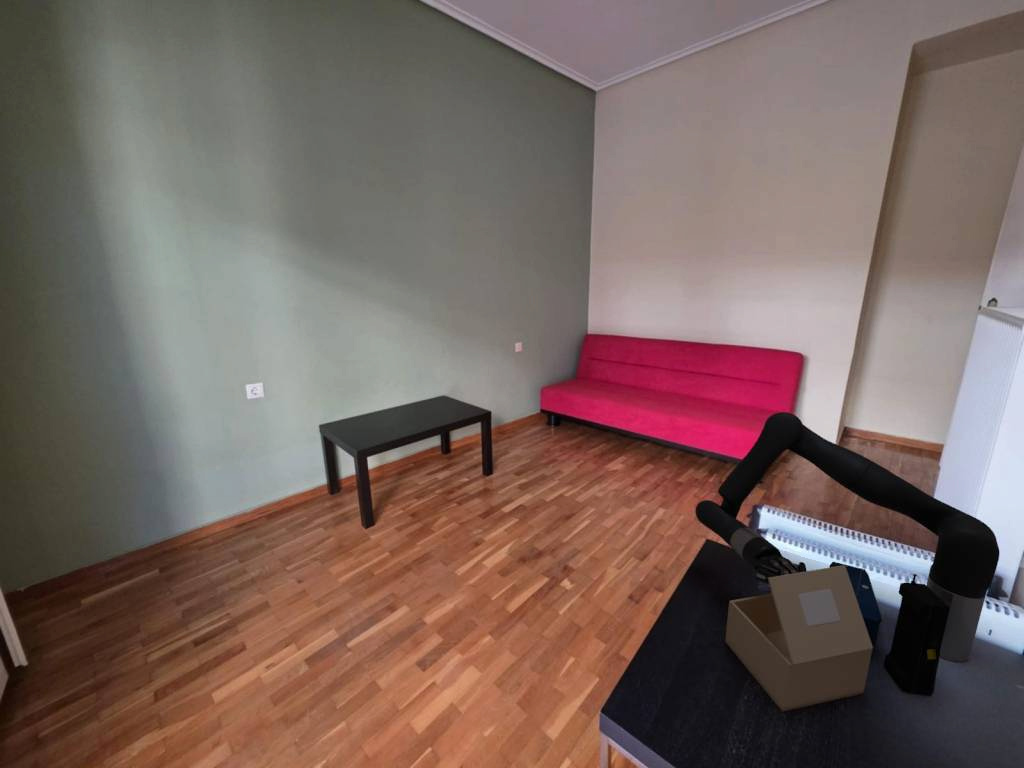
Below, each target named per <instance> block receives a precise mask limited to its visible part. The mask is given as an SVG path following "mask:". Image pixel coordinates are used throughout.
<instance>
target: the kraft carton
mask: <svg viewBox="0 0 1024 768" xmlns="http://www.w3.org/2000/svg"><path fill="white" fill-rule="evenodd" d="M727 609H728V610H727V619H726V621H727V622H726V630H725V631H726V632H725V640H724V642H725V643H726V645H728V647H729V648H730V649H731V651H732V652H733V653H734V655H736V657H737V658H738V659H739V661H740V662H741V664H742V665H744V667H745V668H746V669H747V670H748V671H749V673H750V674H751V675H752V677H753V678H754V679H755V680H756V681H757V683H759V684H760V687H762V688H763V690H764V691H765V692H766V693H767V695H768V696H769V697H770V698H771V700H772V701H773V702H774V703H775V704H776V706H777V707H778V708H779V709H780V711H781V712H782V713H783V712H787V711H792V710H796V709H801V708H805V707H810V706H813V705H814V706H815V705H818V704H819V705H820V704H823V703H827V701H828V702H832V701H836V699H837V700H840V698H841V699H845V698H844V697H846V698H849V697H854V696H859V695H863V694H864V692H865V687H866V683H867V677H868V671H869V669H870V668H869V667H870V662H871V657H872V655H871V653H872V648H871V649H866V650H861V651H856V652H851V653H847V654H842V655H837V656H832V657H827V658H822V659H818V660H813V661H808V662H803V663H798V664H792V662H791V659H790V655H789V652H788V648H787V645H786V641H785V638H784V634H783V631H782V627H781V624H780V620H779V616H778V613H777V609H776V606H775V602H774V599H773V595H772V593H767V594H760V595H756V596H755V595H754V596H749V597H743V598H739V599H737V598H736V599H732V600H729V602H728V608H727Z"/></svg>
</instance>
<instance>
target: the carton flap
mask: <svg viewBox="0 0 1024 768" xmlns="http://www.w3.org/2000/svg"><path fill="white" fill-rule="evenodd" d="M845 565H846V564H845ZM845 565H842V566H836V567H830V566H829V567H830V568H829V567H825V568H819V569H814V570H807V571H806V572H800V573H794V574H788V575H782V576H776V577H770V578H768V581H769V584H768V585H769V588H770V592H771V594H772V595H773V599H774V602H775V606H776V609H777V613H778V616H779V620H780V624H781V627H782V631H783V634H784V638H785V641H786V645H787V648H788V652H789V655H790V659H791V662H792V664H798V663H803V662H808V661H813V660H818V659H822V658H827V657H832V656H837V655H842V654H847V653H851V652H856V651H861V650H866V649H871V648H873V646H872V643H871V641H870V638H869V635H868V632H867V629H866V626H865V623H864V620H863V617H862V614H861V611H860V608H859V605H858V602H857V599H856V596H855V593H854V590H853V587H852V584H851V581H850V578H849V575H848V572H847V569H846V567H845Z"/></svg>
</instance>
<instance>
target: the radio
mask: <svg viewBox="0 0 1024 768" xmlns="http://www.w3.org/2000/svg"><path fill="white" fill-rule="evenodd" d="M842 565H845V567H846V569H847V572H848V575H849V578H850V581H851V584H852V587H853V590H854V593H855V596H856V599H857V602H858V605H859V608H860V611H861V614H862V617H863V620H864V623H865V626H866V629H867V632H868V635H869V638H870V641H871V643H872V646H873V648H872V653H871V656H872V655H873V654H874V652H875V650H876V644H877V640H878V634H879V630H880V625H881V623H882V621H883V620H882V613H881V610H880V608H879V607H880V606H879V604H878V601H877V598H876V594H875V591H874V589H873V584H872V583H871V582H872V581H871V579H870V575H869V573H868V571H866V569H864V568H860V567H856V566H852V565H847V564H846V563H845V564H844V563H841V562H837V561H832V562H831V563H830V564H829V567H828V568H830V567H836V566H842Z"/></svg>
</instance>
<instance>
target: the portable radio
mask: <svg viewBox="0 0 1024 768" xmlns="http://www.w3.org/2000/svg"><path fill="white" fill-rule="evenodd" d="M912 575H913V577H912V580H911V581H910V582H901V583H900V584H899V588H898V594H899V596H901V601H900V604H899V605H900V606H899V610H898V615H897V620H896V623H895V624H896V625H895V629H894V632H893V633H894V634H893V639H892V642H891V647H890V651H889V653H887V654H885V656H884V659H883V660H884V661H883V668H884V669H885V671H886V672H887V673H888V675H889V676H890V678H891V679H892V680H893V682H894V683H895V685H897V687H898V688H899V690H901V691H903V692H906V693H908V694H914V695H920V696H928V697H932V696H933V694H934V692H935V685H936V678H937V673H938V667H939V661H940V658H941V657H940V650H941V645H942V641H943V636H944V632H945V628H946V623H947V619H948V615H949V610H950V607H949V606H948V605H947V604H946V603H945V602H944V601H943V600H942V599H940V598H939V597H938V596H937V595H936V594H935V593H934V592H933V591H932V590H931V589H930V588H929V587H928V586H926V585H927V584H925V583H918V582H916V578H917V577H918V575H917V574H916V573H913V574H912Z"/></svg>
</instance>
